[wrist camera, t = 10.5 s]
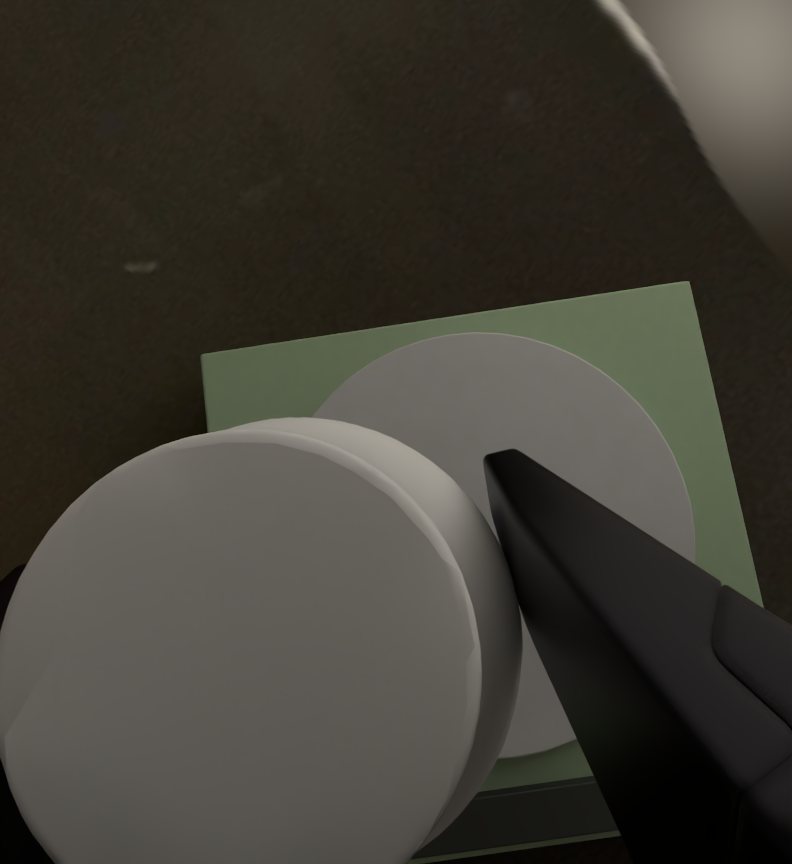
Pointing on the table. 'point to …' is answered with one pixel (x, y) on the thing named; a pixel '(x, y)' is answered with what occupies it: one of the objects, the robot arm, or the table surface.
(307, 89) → the table surface
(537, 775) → the scale
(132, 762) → the pill bottle
